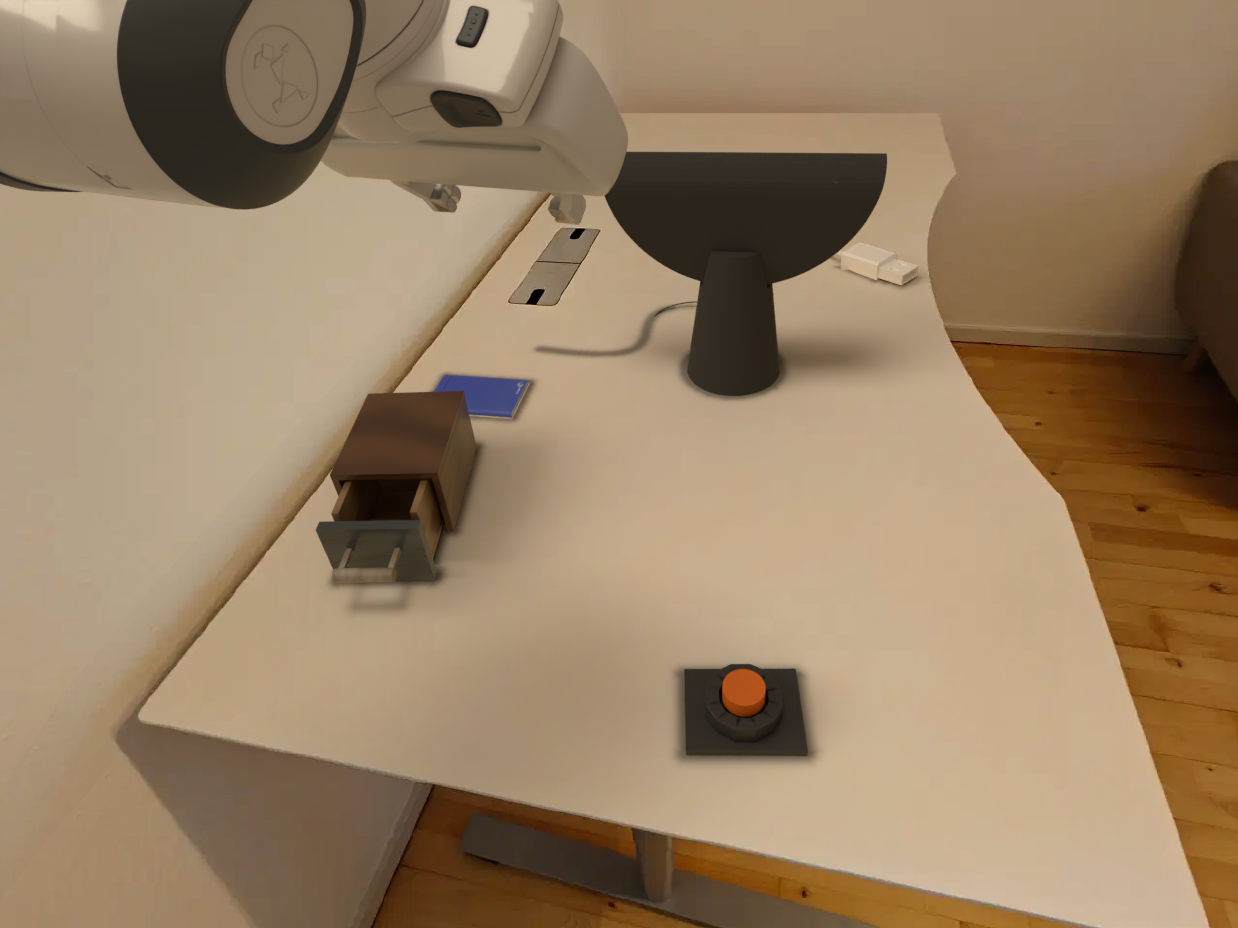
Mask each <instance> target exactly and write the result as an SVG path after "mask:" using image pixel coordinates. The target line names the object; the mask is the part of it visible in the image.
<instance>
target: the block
mask: <svg viewBox="0 0 1238 928" xmlns="http://www.w3.org/2000/svg"><path fill="white" fill-rule="evenodd" d="M738 669H748V670H751V671H754V672H756V673H757V674H758V675H760V676H761V678H762V679H763V680H764V682H765V686H766V693H765V703H764V706H763V708H762V710H761V711H760V712H759V713H757V714H756V715H754V716H751V717H739V716H736V715H734V714H732V713H731V712H729V711H728V710H727V709H726V707H725V706H724V704H723V700H722V687H723V681H724V679H725V677H726V676H727V675H728V674H729V673H730V672H732V671H734V670H738ZM797 675H798V674H797V669H796V668H761V667H758V666H757V665H754V664H751V663H730V664H728V665H726V666H724V667H722V668H684V669H683V678H684V679H683V683H684V726H685V727H684V728H685V755H686V756H750V757H751V756H759V757H760V756H763V757H764V756H766V757H768V756H771V757H773V756H774V757H777V756H778V757H780V756H781V757H783V756H784V757H803V756H804V757H806V756H807V755H808V744H807V738H806V730H805V723H804V718H803V717H804V716H803V709H802V702H801V696H800V689H799V681H798V676H797Z"/></svg>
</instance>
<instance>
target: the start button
mask: <svg viewBox="0 0 1238 928" xmlns="http://www.w3.org/2000/svg"><path fill="white" fill-rule="evenodd" d="M765 693H766V686H765V682H764V680H763V679H762V678H761V676H760V675H758V674H757V673H756V672H754V671H751V670H748V669H738V670H734V671H732V672H730V673H729V674H728V675H727V676H726V677H725V679H724V681H723V687H722V700H723V704H724V706H725V707H726V709H727V710H728V711H729V712H731V713H732V714H734V715H736V716H739V717H751V716H754V715H756V714H757V713H759V712H760V711H761V710H762V708H763V706H764V703H765Z"/></svg>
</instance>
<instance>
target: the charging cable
mask: <svg viewBox="0 0 1238 928" xmlns="http://www.w3.org/2000/svg"><path fill="white" fill-rule="evenodd" d="M835 255H836V256H839V257H840V267H839V269H840V271H851V272H853V273H856V274H859V275H861V276H864V277H866V278H869V279H871V280H873V281H874V280H875V281H878V280H879V279H880V280H883V281H886V282H890V283H892V284H896V285H898V286H903V285H904V284H906V283H908V282H909V281H911V280H913V279H914V278H916V277H917V276H918V274H919V268H920V266H919V265H917V264H915V263H911V262H908V261H905V260H901V259H898V254H897V252H893V251H890V250H887V249H883V248H880V247H877V246H873V245H870V244H867V243H864V242H861V241H860V242H858V243H856V244H854V245H852V246H850V247H848V248H847V249H845V250H842V249H841V250H840V251H839V252H837V253H836V254H835Z"/></svg>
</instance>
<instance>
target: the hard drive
mask: <svg viewBox="0 0 1238 928" xmlns="http://www.w3.org/2000/svg"><path fill="white" fill-rule="evenodd" d="M530 384H531V380H530V379H520V378H519V379H518V378H505V377H490V376H489V377H488V376H474V375H473V376H472V375H458V374H444V375H443V376H442V378H441V380H440V381H439V383H438V384H437V385H436V386H435V389H434V390H433V392H441V391H464V395H465V399H466V403H467V408H468V412H469V416H470V417H481V418H492V419H493V418H494V419H506V420H513V419H514V418H515V417H514V416H515V415H516V413H517V410H518V409H519V407H520V405H521V403H522V401H523V400H524V399H523V398H524V397H525V395H526V392H527V391H528V389H529V387H530Z"/></svg>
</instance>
